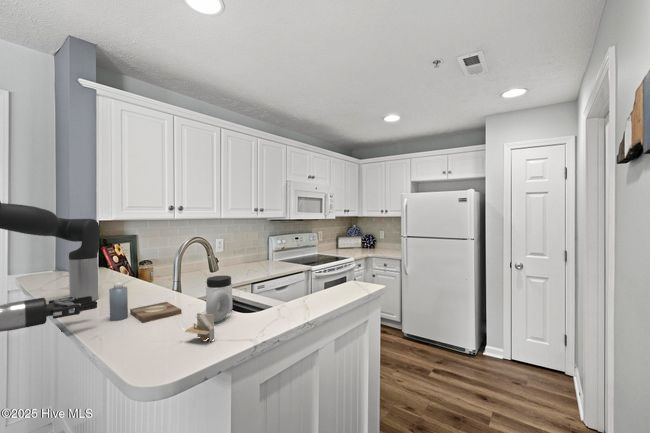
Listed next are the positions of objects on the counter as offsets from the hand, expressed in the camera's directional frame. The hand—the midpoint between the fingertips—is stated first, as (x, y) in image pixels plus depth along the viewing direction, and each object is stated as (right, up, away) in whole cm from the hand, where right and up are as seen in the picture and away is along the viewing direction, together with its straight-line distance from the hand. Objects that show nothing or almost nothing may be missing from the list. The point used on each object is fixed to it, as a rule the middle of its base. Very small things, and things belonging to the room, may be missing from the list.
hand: (94, 301), depth 98 cm
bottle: (+5, -7, +5) cm, 10 cm away
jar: (+36, -7, +11) cm, 38 cm away
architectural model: (+41, -7, -14) cm, 44 cm away
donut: (+39, -7, +1) cm, 40 cm away
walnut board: (+14, -7, +9) cm, 18 cm away
